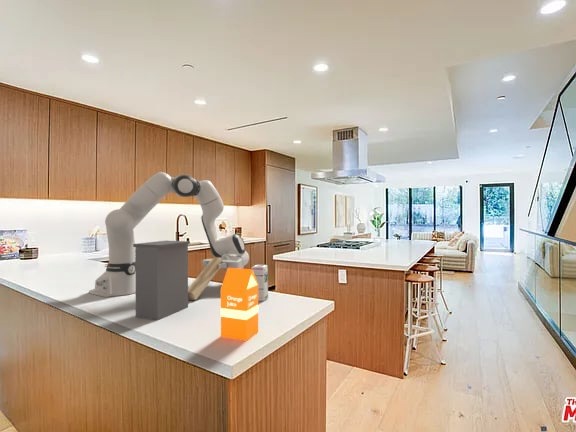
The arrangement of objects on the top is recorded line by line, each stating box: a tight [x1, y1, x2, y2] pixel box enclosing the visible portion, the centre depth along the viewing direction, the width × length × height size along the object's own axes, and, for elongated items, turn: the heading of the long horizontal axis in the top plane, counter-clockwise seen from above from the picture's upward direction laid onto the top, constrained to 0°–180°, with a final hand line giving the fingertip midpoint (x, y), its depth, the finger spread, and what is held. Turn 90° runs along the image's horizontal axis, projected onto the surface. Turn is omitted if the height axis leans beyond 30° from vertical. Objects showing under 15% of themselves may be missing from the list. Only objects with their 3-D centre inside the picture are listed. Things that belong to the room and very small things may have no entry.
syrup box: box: [250, 264, 269, 302], centre depth 136 cm, size 6×6×14 cm
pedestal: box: [133, 240, 191, 321], centre depth 118 cm, size 12×16×26 cm
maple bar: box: [188, 256, 223, 301], centre depth 143 cm, size 4×24×4 cm
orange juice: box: [220, 268, 259, 342], centre depth 96 cm, size 8×9×20 cm
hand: (213, 266), depth 148 cm, fingers closed on maple bar, 4 cm apart
